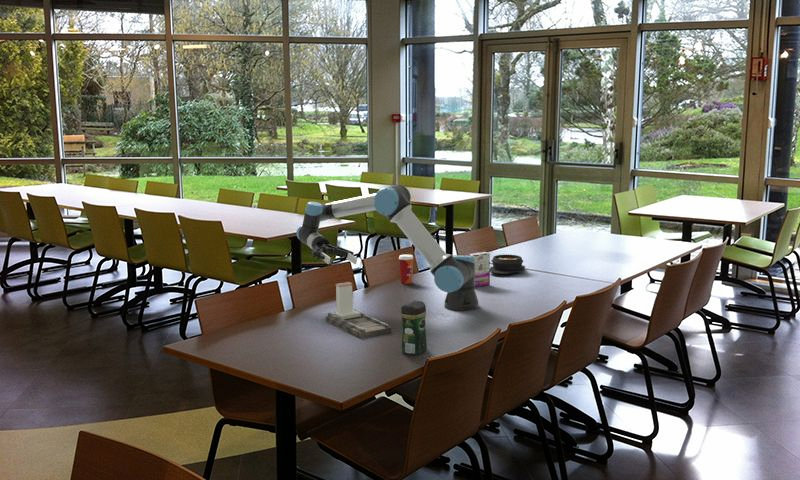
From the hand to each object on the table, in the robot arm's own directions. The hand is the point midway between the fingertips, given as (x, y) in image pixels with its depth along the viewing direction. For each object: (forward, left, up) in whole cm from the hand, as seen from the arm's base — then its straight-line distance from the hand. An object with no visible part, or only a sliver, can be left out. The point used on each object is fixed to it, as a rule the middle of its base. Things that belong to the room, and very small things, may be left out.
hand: (342, 261), depth 334 cm
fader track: (-15, +13, -23) cm, 31 cm away
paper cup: (+6, -65, -24) cm, 70 cm away
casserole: (-30, -111, -24) cm, 118 cm away
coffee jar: (-51, +31, -24) cm, 64 cm away
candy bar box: (-29, -75, -24) cm, 84 cm away
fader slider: (-7, +9, -21) cm, 24 cm away
